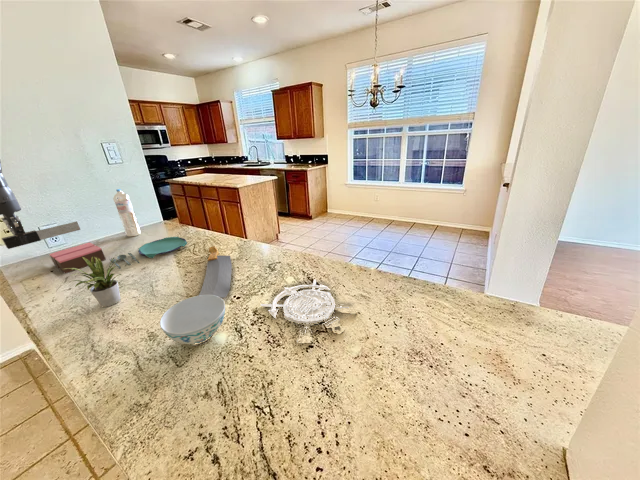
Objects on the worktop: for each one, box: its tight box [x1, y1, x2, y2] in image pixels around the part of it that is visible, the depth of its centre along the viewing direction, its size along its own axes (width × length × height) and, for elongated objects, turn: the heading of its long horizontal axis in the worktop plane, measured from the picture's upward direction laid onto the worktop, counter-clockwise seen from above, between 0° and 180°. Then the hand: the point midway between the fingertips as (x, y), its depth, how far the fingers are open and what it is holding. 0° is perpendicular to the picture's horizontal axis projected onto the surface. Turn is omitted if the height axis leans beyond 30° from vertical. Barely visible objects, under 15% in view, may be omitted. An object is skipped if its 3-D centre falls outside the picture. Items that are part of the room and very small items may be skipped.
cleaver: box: [198, 245, 233, 300], centre depth 100 cm, size 4×10×40 cm
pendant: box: [259, 278, 349, 333], centre depth 77 cm, size 21×28×1 cm
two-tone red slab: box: [48, 242, 107, 275], centre depth 113 cm, size 14×14×6 cm
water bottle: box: [112, 188, 142, 238], centre depth 139 cm, size 7×7×25 cm
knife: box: [1, 221, 81, 250], centre depth 106 cm, size 22×2×4 cm, turn 147°
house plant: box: [65, 256, 123, 308], centre depth 82 cm, size 14×14×16 cm
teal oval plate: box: [109, 236, 188, 270], centre depth 120 cm, size 20×30×2 cm, turn 138°
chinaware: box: [159, 294, 226, 345], centre depth 68 cm, size 15×15×8 cm
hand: (24, 243), depth 102 cm, fingers closed on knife, 2 cm apart
